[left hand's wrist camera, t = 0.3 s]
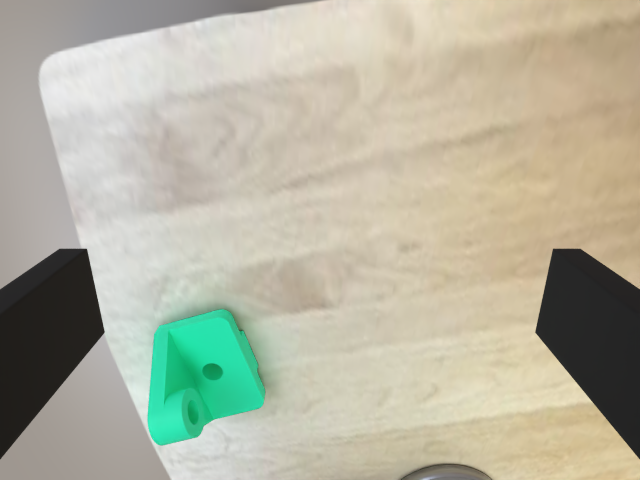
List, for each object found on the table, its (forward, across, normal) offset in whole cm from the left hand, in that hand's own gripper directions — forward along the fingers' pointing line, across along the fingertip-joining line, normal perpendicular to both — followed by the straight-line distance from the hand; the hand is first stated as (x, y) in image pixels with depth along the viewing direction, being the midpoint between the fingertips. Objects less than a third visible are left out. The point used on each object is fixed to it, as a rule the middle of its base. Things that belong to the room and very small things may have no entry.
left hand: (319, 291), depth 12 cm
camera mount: (+29, +11, +23) cm, 39 cm away
